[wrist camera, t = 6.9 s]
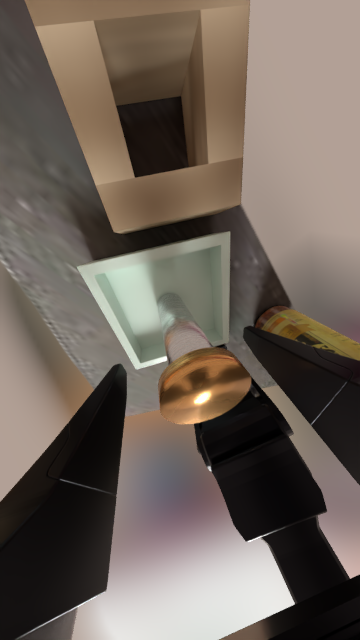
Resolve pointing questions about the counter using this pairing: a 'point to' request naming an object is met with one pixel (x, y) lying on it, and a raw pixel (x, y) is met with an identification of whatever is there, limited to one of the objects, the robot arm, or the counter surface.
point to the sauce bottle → (307, 331)
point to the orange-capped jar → (195, 369)
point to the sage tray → (163, 291)
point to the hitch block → (153, 96)
